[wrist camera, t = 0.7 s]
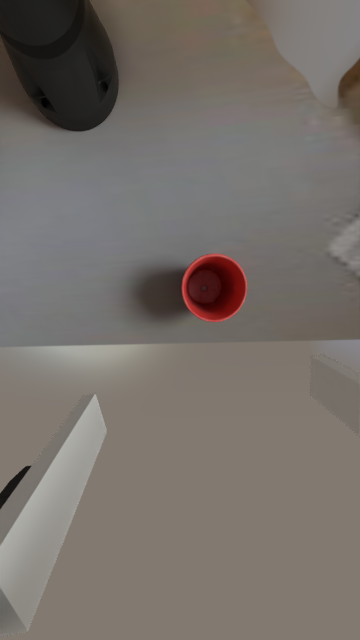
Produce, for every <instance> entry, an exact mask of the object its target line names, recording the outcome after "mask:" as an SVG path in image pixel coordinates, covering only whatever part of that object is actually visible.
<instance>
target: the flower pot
mask: <svg viewBox="0 0 360 640" xmlns="http://www.w3.org/2000/svg"><path fill="white" fill-rule="evenodd" d="M181 291H182V297H183V300H184V303H185V305H186V306H187V308H188V309H189V310H190V312H191V313H192V314H193V315H195V316H196V317H198V318H199V319H202V320H204V321H208V322H220V321H224V320H226V319H228V318H230V317H232V316H233V315H234V314H235V313H236V312H237V311H238V310H239V309H240V308H241V306H242V305H243V303H244V300H245V297H246V293H247V281H246V277H245V274H244V272H243V270H242V268H241V267H240V266H239V264H238V263H237V262H236V261H235V260H233V259H232V258H230V257H228V256H225V255H222V254H207V255H204V256H202V257H200V258H198V259H196V260H195V261H194V262H192V263H191V264H190V266H189V267H188V268H187V270H186V271H185V273H184V276H183V279H182V284H181Z"/></svg>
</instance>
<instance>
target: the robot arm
mask: <svg viewBox="0 0 360 640" xmlns="http://www.w3.org/2000/svg"><path fill="white" fill-rule="evenodd" d="M0 36H1V38H2V40H3V43H4V45H5V47H6V50H7V52H8V55H9V57H10V59H11V62H12V64H13V66H14V69H15V71H16V73H17V76H18V78H19V80H20V82H21V84H22V86H23V88H24V89H25V91H26V93H27V94H28V95H29V97H30V98H31V99H32V101H33V102H34V103H35V105H36V106H37V107H38V109H39V110H40V111H41V112H42V113H43V114H44V115H45V116H46V117H47V118H48V119H49V120H51V121H52V122H53V123H55V124H57V125H58V126H60V127H63V128H65V129H69V130H75V131H83V130H88V129H91V128H94V127H96V126H98V125H99V124H100V123H102V122H103V121H104V120H105V119H106V118H107V117H108V115H109V114H110V112H111V111H112V109H113V107H114V105H115V102H116V98H117V94H118V71H117V66H116V62H115V58H114V54H113V49H112V46H111V43H110V41H109V38H108V36H107V33H106V31H105V29H104V27H103V25H102V23H101V22H100V20H99V18H98V16H97V14H96V12H95V10H94V8H93V6H92V4H91V3H90V1H89V0H0ZM310 396H312V397H313V398H314V399H315V400H317V401H318V402H319V403H320V404H321V405H323V406H324V407H325V408H326V409H327V410H328V411H330V412H331V413H332V414H333V415H335V416H336V417H337V418H338V419H339V420H340V421H342V422H343V423H344V424H345V425H346V426H348V427H349V428H350V429H351V430H352V431H354V432H355V433H356V434H357V435H358V436H360V372H358V371H356V370H354V369H352V368H350V367H348V366H346V365H344V364H342V363H340V362H338V361H336V360H334V359H332V358H330V357H328V356H326V355H324V354H320V355H314V356H311V365H310ZM106 432H107V430H106V427H105V423H104V420H103V417H102V414H101V410H100V407H99V404H98V400H97V397H96V394H89V395H83V396H82V397H81V398H80V400H79V401H78V402H77V404H76V405H75V407H74V408H73V409H72V411H71V412H70V414H69V415H68V416H67V418H66V419H65V421H64V422H63V423H62V425H61V426H60V427H59V429H58V430H57V432H56V433H55V434H54V436H53V437H52V438H51V440H50V441H49V443H48V444H47V445H46V447H45V448H44V450H43V451H42V452H41V454H40V455H39V456H38V458H37V459H36V461H35V462H34V463H33V465H32V466H26V467H25V468H23V469H22V470H21V471H20V472H19V473H18V474H17V475H16V476H15V477H14V478H13V479H12V480H11V481H10V482H9V483H8V484H7V486H6V487H5V488H4V489H3V491H2V492H1V493H0V637H2V636H6V635H11V634H17V633H22V632H26V631H28V630H29V627H30V624H31V622H32V619H33V617H34V614H35V612H36V609H37V607H38V604H39V602H40V599H41V597H42V594H43V592H44V589H45V586H46V584H47V582H48V579H49V577H50V574H51V572H52V569H53V566H54V564H55V561H56V559H57V556H58V554H59V551H60V549H61V546H62V544H63V541H64V539H65V536H66V534H67V531H68V528H69V526H70V523H71V521H72V518H73V516H74V513H75V511H76V508H77V506H78V503H79V501H80V498H81V496H82V493H83V490H84V488H85V485H86V483H87V481H88V478H89V475H90V473H91V470H92V468H93V465H94V463H95V460H96V458H97V455H98V453H99V450H100V448H101V445H102V443H103V440H104V437H105V435H106Z"/></svg>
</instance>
